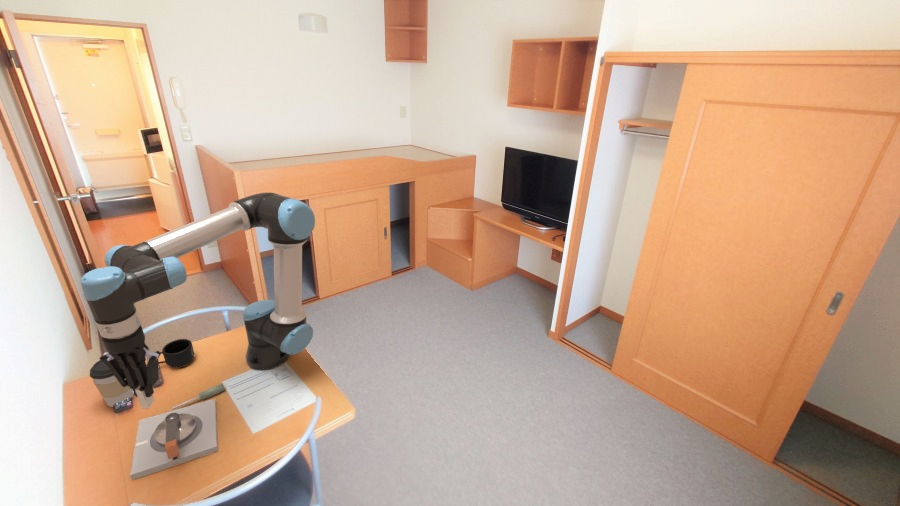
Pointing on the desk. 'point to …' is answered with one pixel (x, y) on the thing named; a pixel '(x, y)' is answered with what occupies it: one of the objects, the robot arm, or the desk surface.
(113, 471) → the desk surface
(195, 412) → the plate
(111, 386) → the coffee cup
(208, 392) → the screwdriver
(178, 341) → the mug
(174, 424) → the dial
